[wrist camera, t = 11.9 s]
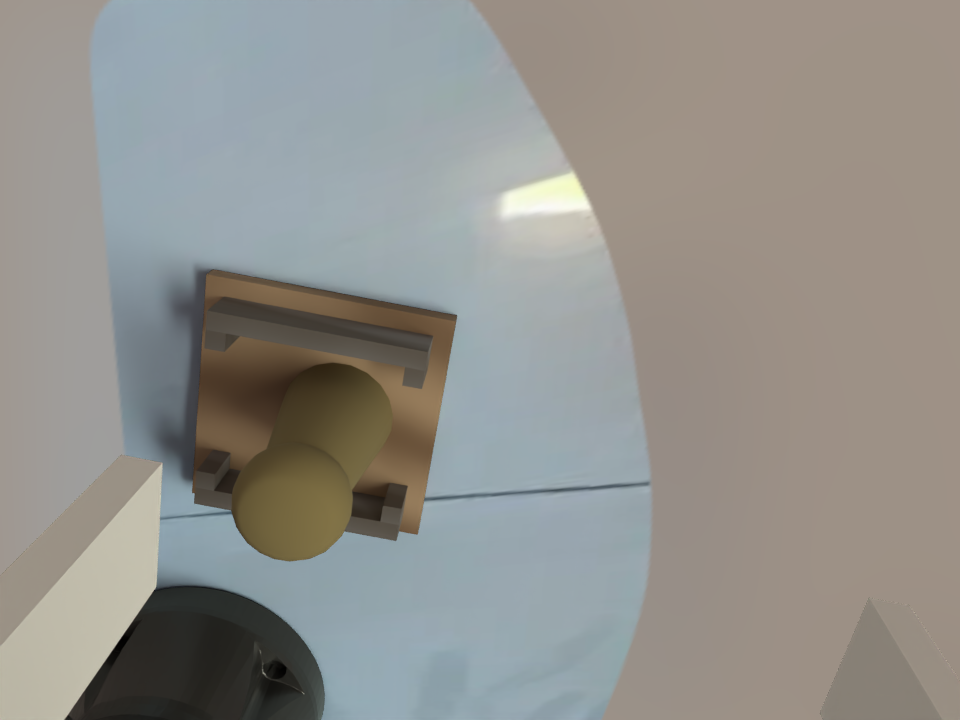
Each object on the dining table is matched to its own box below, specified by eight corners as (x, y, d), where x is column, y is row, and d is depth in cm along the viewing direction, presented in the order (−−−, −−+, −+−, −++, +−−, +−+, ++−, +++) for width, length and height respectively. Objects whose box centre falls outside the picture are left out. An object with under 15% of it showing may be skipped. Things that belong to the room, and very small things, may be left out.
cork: (272, 446, 46) (199, 561, 36) (295, 348, 44) (224, 440, 34) (377, 477, 47) (334, 599, 36) (405, 381, 44) (368, 482, 34)
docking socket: (419, 525, 49) (411, 559, 45) (198, 484, 48) (174, 515, 45) (456, 315, 44) (451, 337, 41) (213, 269, 44) (187, 287, 41)
